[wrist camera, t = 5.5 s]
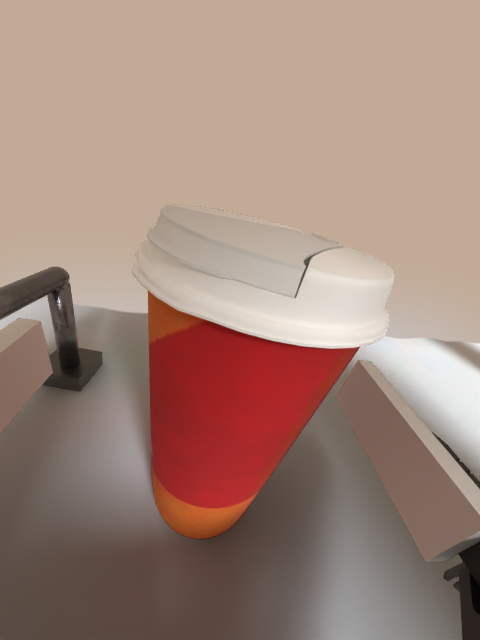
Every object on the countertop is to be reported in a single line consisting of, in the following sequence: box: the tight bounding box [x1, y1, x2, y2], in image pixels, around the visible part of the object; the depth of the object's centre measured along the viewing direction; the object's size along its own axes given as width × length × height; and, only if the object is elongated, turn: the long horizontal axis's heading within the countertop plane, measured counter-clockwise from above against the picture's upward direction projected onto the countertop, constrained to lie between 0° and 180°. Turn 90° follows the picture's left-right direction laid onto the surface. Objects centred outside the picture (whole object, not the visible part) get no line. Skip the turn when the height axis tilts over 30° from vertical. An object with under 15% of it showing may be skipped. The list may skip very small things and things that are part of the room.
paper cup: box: [133, 204, 395, 539], centre depth 10 cm, size 8×8×14 cm
